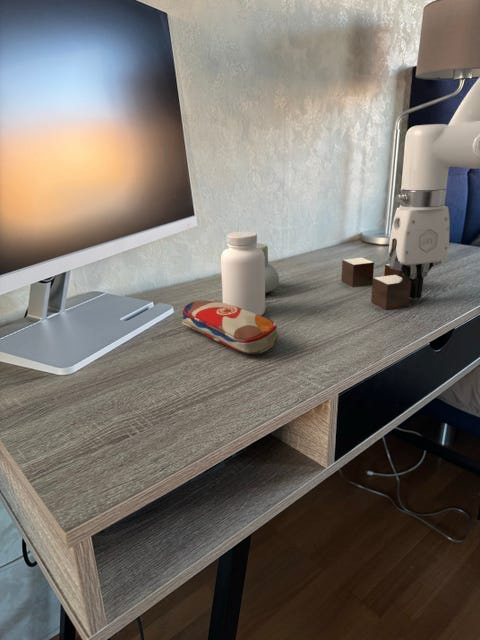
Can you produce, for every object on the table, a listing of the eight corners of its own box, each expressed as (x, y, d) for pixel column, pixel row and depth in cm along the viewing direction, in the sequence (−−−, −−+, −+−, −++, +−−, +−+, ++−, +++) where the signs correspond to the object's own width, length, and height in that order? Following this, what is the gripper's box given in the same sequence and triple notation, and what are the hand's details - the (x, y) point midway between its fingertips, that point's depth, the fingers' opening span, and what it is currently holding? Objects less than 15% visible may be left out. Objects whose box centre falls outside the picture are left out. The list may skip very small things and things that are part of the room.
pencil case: (219, 369, 63) (217, 337, 61) (177, 324, 80) (174, 298, 78) (286, 352, 67) (286, 321, 66) (233, 313, 84) (231, 288, 82)
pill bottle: (258, 322, 79) (255, 238, 74) (216, 318, 82) (211, 237, 77) (270, 307, 86) (269, 230, 81) (232, 304, 89) (228, 229, 83)
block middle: (403, 284, 97) (405, 262, 95) (418, 290, 92) (420, 267, 91) (383, 287, 96) (385, 264, 94) (397, 293, 91) (399, 270, 89)
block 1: (360, 278, 102) (362, 257, 100) (372, 284, 98) (374, 262, 96) (341, 281, 101) (342, 259, 99) (352, 287, 96) (353, 264, 95)
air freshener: (229, 287, 100) (227, 243, 96) (263, 282, 102) (262, 239, 99) (245, 301, 90) (243, 253, 87) (282, 296, 93) (282, 248, 89)
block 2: (393, 299, 88) (395, 274, 86) (408, 306, 84) (411, 281, 82) (371, 302, 87) (372, 277, 85) (385, 310, 83) (387, 284, 81)
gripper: (398, 204, 75) (389, 307, 81) (472, 198, 78) (458, 297, 85) (374, 200, 81) (367, 295, 88) (443, 194, 85) (432, 286, 92)
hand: (412, 296), depth 86 cm, fingers closed
